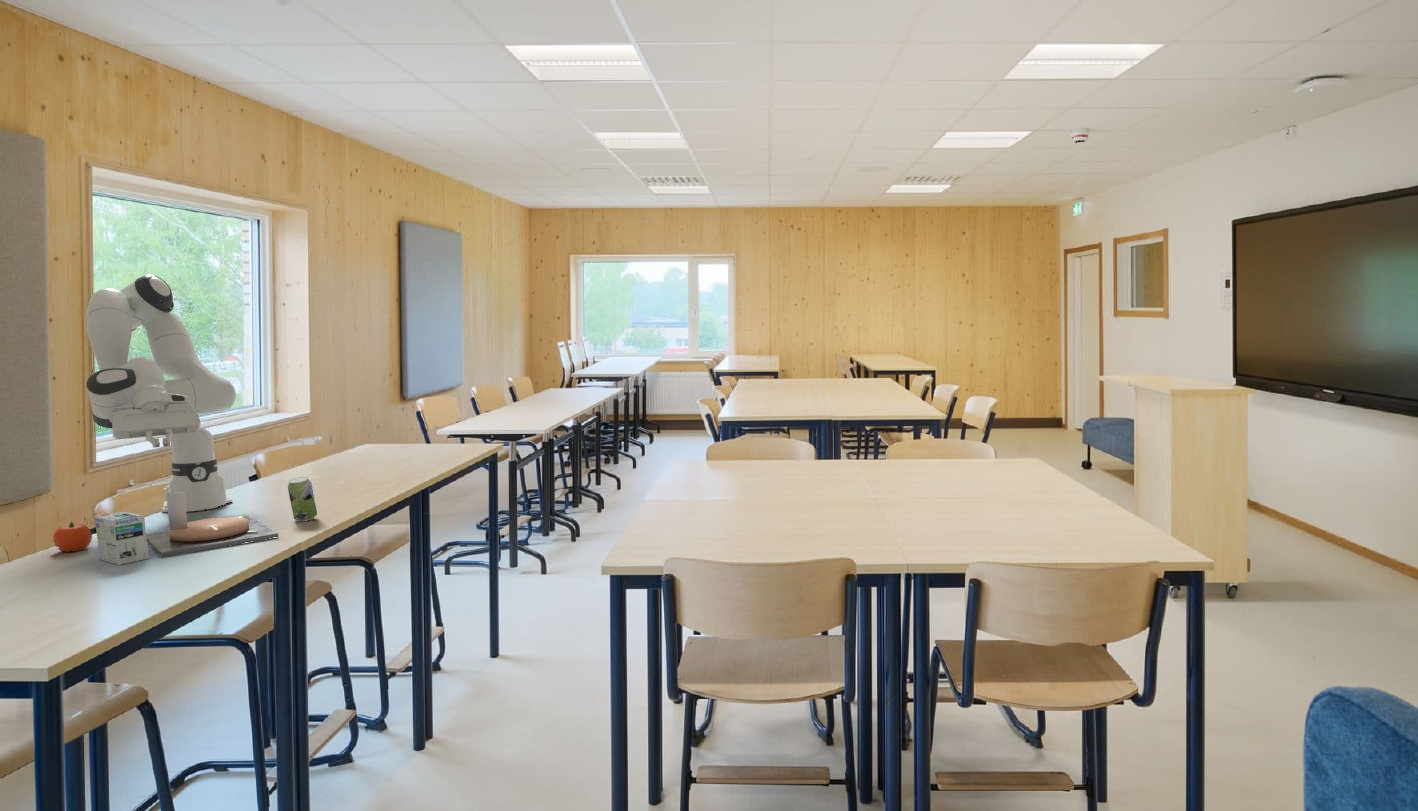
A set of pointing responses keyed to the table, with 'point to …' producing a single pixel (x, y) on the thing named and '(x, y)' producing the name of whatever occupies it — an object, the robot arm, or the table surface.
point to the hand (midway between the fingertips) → (161, 445)
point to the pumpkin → (72, 537)
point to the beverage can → (302, 499)
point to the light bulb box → (121, 537)
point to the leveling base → (171, 547)
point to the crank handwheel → (199, 523)
